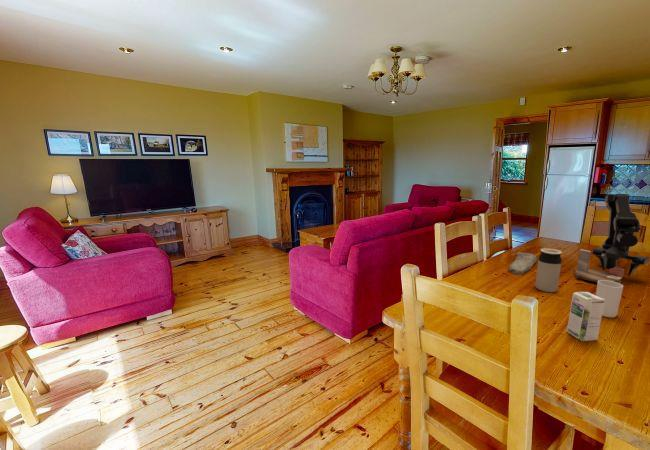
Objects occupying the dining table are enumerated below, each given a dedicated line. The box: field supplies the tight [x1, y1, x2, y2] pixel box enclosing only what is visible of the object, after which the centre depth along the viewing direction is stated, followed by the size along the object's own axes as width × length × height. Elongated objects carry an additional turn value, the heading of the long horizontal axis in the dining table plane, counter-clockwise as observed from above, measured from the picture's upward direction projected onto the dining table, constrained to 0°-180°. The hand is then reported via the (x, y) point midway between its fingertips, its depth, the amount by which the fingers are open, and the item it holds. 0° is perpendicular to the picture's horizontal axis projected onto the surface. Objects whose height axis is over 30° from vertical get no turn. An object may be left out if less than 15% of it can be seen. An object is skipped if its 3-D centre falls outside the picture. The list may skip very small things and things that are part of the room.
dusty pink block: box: [608, 267, 625, 278], centre depth 141 cm, size 4×6×4 cm, turn 115°
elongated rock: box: [508, 251, 538, 276], centre depth 160 cm, size 35×5×10 cm
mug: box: [595, 280, 624, 318], centre depth 109 cm, size 10×7×12 cm, turn 131°
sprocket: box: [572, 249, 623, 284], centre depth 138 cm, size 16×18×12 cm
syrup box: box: [566, 291, 605, 342], centre depth 94 cm, size 6×6×14 cm
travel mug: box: [534, 247, 563, 293], centre depth 129 cm, size 8×8×18 cm
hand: (616, 272), depth 141 cm, fingers open, 9 cm apart
